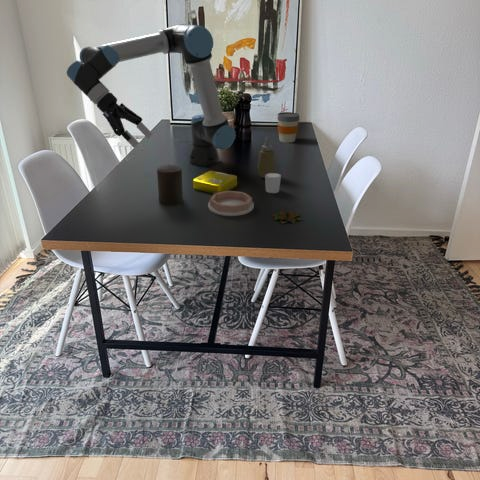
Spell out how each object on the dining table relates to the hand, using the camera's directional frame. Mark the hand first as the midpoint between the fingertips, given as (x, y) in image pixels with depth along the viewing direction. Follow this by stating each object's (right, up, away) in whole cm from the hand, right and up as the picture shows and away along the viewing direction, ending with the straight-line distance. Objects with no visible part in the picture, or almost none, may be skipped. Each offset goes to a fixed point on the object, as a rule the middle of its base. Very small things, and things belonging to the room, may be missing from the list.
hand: (143, 141), depth 176 cm
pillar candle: (+9, -22, +9) cm, 26 cm away
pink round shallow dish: (+33, -25, +4) cm, 42 cm away
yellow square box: (+26, -15, +24) cm, 39 cm away
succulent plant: (+55, -30, -4) cm, 63 cm away
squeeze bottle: (+49, -9, +36) cm, 61 cm away
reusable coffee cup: (+65, +20, +91) cm, 113 cm away
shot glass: (+51, -17, +20) cm, 57 cm away
